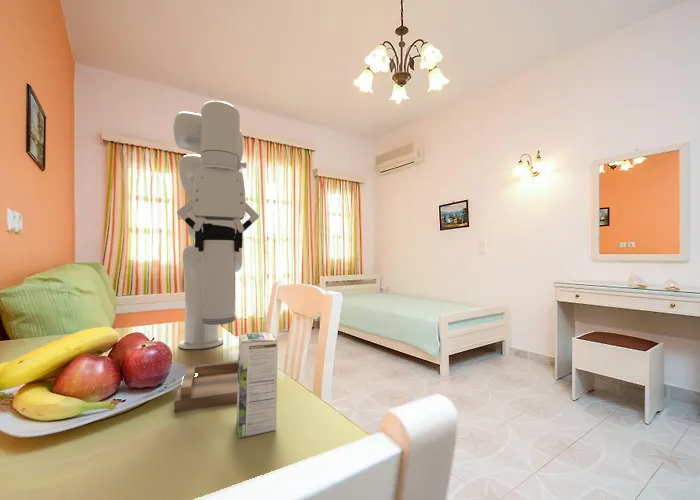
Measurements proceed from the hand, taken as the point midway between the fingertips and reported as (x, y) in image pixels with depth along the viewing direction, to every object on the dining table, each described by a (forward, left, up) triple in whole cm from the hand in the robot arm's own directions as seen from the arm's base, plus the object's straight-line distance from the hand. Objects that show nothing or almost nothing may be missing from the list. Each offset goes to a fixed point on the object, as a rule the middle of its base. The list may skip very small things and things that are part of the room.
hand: (219, 250), depth 67 cm
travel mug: (0, 0, -15) cm, 15 cm away
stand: (0, 0, -29) cm, 29 cm away
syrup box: (+17, +6, -29) cm, 34 cm away
